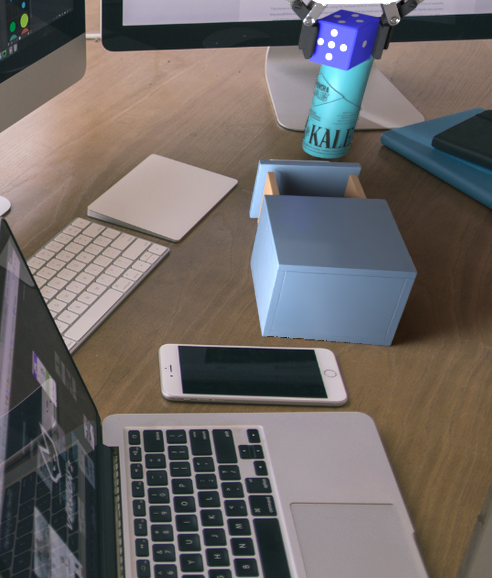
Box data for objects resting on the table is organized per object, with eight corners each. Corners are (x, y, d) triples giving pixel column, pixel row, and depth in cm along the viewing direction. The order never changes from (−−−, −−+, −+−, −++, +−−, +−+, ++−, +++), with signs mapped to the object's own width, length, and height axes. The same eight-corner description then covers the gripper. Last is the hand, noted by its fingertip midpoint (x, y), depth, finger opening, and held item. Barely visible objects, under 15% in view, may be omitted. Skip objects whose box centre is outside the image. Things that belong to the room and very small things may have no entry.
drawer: (245, 193, 104) (255, 141, 100) (337, 197, 102) (351, 143, 97) (258, 269, 91) (270, 213, 86) (364, 276, 89) (382, 218, 84)
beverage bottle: (322, 143, 115) (356, 7, 103) (358, 161, 110) (398, 21, 98) (288, 154, 113) (318, 17, 101) (322, 173, 108) (358, 32, 96)
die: (347, 71, 91) (357, 29, 88) (308, 61, 94) (316, 19, 91) (370, 59, 93) (381, 17, 90) (331, 49, 96) (340, 8, 93)
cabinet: (250, 262, 94) (264, 194, 88) (363, 269, 91) (385, 199, 85) (261, 336, 83) (278, 264, 77) (390, 346, 81) (417, 272, 75)
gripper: (460, -120, 83) (413, 43, 94) (286, -112, 87) (260, 43, 98) (481, -104, 77) (428, 67, 88) (294, -97, 81) (266, 66, 92)
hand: (340, 53), depth 93 cm, fingers closed on die, 6 cm apart
